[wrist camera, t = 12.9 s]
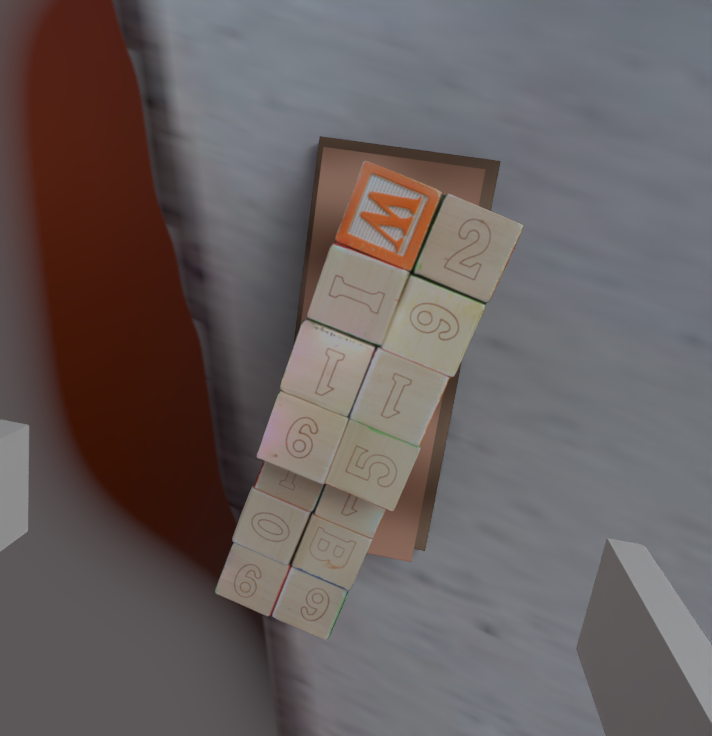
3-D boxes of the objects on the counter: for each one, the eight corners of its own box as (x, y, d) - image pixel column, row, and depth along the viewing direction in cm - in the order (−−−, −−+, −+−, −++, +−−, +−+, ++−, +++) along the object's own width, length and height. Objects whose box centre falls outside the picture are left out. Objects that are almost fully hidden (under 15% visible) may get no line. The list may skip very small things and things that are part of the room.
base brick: (324, 140, 37) (308, 125, 32) (497, 164, 36) (507, 152, 31) (277, 511, 43) (257, 545, 38) (425, 540, 42) (424, 579, 37)
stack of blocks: (351, 548, 38) (313, 691, 26) (261, 509, 38) (183, 633, 26) (493, 229, 32) (529, 222, 20) (388, 186, 33) (363, 155, 21)
